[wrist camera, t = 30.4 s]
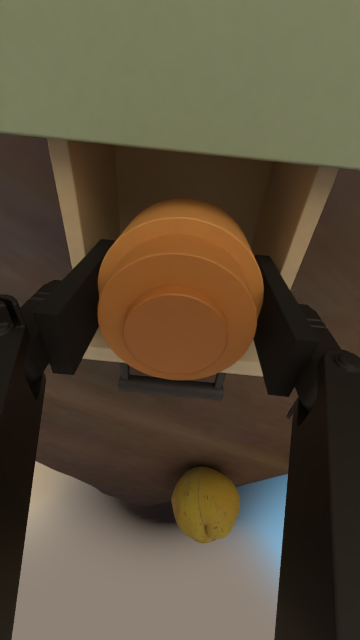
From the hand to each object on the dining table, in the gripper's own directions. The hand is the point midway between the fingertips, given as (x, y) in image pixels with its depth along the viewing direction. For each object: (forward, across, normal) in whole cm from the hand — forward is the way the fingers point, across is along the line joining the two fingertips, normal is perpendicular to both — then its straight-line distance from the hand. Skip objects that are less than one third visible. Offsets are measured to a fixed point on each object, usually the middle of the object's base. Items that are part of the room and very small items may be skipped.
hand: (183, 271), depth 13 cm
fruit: (+8, +7, -42) cm, 43 cm away
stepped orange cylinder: (0, 0, 0) cm, 0 cm away
